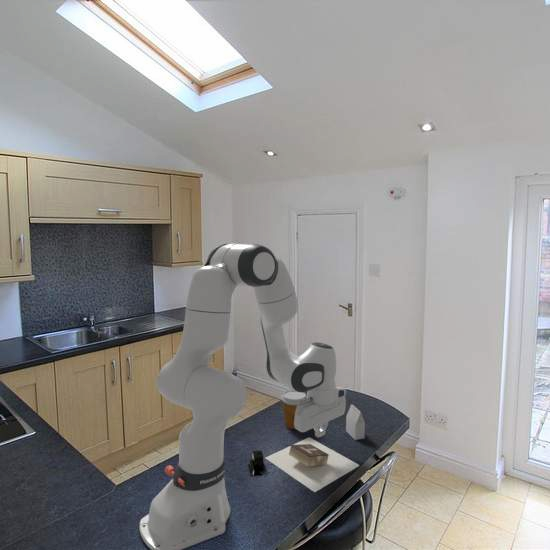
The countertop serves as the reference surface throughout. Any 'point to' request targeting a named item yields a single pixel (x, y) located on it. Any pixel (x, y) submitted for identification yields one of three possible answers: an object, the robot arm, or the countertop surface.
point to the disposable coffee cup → (291, 405)
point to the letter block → (308, 454)
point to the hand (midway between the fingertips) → (320, 435)
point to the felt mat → (315, 474)
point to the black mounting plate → (256, 464)
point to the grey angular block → (355, 423)
